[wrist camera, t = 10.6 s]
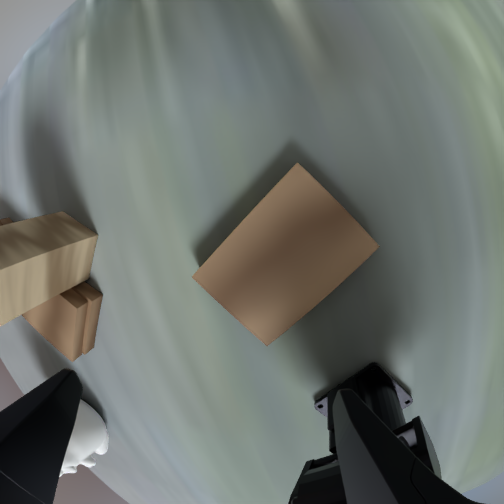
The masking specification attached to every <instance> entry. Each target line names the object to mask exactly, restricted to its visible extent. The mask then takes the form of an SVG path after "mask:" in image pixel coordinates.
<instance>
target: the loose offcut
mask: <svg viewBox="0 0 504 504" xmlns="http://www.w3.org/2000/svg"><path fill="white" fill-rule="evenodd" d="M379 247H380V246H379V245H378V244H377V243H376V242H375V241H374V240H373V239H372V237H371V236H370V235H369V234H368V233H367V232H366V231H365V230H364V229H363V228H362V227H361V225H360V224H359V223H358V222H357V221H356V220H355V219H354V218H353V217H352V216H351V215H350V214H349V213H348V212H347V211H346V210H345V209H344V208H343V206H342V205H341V204H340V203H339V202H338V201H337V200H336V199H335V198H334V197H333V196H332V195H331V194H330V193H329V192H328V191H327V190H326V189H325V188H324V187H323V186H322V185H321V184H320V183H319V182H317V181H316V180H315V179H314V178H313V177H312V176H311V175H310V174H309V173H308V172H307V171H306V170H305V169H304V168H303V167H302V166H301V165H300V164H299V163H296V164H295V165H294V166H293V168H292V169H291V170H290V171H289V172H288V173H287V174H286V175H285V176H284V177H283V178H282V179H281V180H280V181H279V182H278V183H277V184H276V185H275V186H274V188H273V189H272V190H271V191H270V192H269V193H268V194H267V195H266V196H265V197H264V198H263V199H262V200H261V201H260V202H259V204H258V205H257V206H256V207H255V208H254V209H253V210H252V211H251V212H250V213H249V214H248V215H247V216H246V218H245V219H244V220H243V221H242V222H241V223H240V224H239V225H238V226H237V227H236V228H235V229H234V231H233V232H232V233H231V234H230V235H229V236H228V237H227V238H226V239H225V240H224V242H223V243H222V244H221V245H220V246H219V247H218V248H217V249H216V250H215V251H214V253H213V254H212V255H211V256H210V257H209V258H208V259H207V260H206V261H205V263H204V264H203V265H202V266H201V267H200V268H199V269H198V270H197V272H196V273H195V274H194V275H193V276H192V278H193V279H194V280H195V281H196V282H197V283H198V284H199V285H201V286H202V287H203V288H204V289H205V290H206V291H207V292H208V293H209V294H210V295H211V296H212V297H213V298H214V299H215V300H216V301H217V302H218V303H220V304H221V305H222V306H223V307H224V308H225V309H226V310H227V311H228V312H229V313H230V314H231V315H233V316H234V317H235V318H236V319H237V320H238V321H239V322H240V323H241V324H242V325H244V326H245V327H246V328H247V329H248V330H249V331H250V332H251V333H253V334H254V335H255V336H256V337H257V338H258V339H259V340H260V341H262V342H263V343H264V344H265V345H266V346H268V345H269V344H270V343H272V342H273V341H274V340H275V339H277V338H278V337H279V336H280V335H282V334H283V333H284V332H285V331H286V330H288V329H289V328H290V327H291V326H293V325H294V324H295V323H296V322H297V321H299V320H300V319H301V318H302V317H303V316H304V315H306V314H307V313H308V312H309V311H310V310H311V309H313V308H314V307H315V306H316V305H317V304H318V303H319V302H321V301H322V300H323V299H324V298H325V297H326V296H327V295H329V294H330V293H331V292H332V291H333V290H334V289H335V288H336V287H337V286H339V285H340V284H341V283H342V282H343V281H344V280H345V279H346V278H347V277H348V276H349V275H351V274H352V273H353V272H354V271H355V270H356V269H357V268H358V267H359V266H360V265H361V264H362V263H363V262H364V261H365V260H366V259H367V258H368V257H369V256H371V255H372V254H373V253H374V252H375V251H376V250H377V249H378V248H379Z"/></svg>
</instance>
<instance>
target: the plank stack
mask: <svg viewBox="0 0 504 504" xmlns="http://www.w3.org/2000/svg"><path fill="white" fill-rule="evenodd" d="M10 223H14V222H13V221H12V220H11V219H10V218H5V219H1V220H0V226H2V225H6V224H10ZM102 297H103V295H102V294H101V293H100V292H98V291H97V290H96V289H94V288H93V287H91V286H90V285H89V284H87V283H86V282H85V281H83V282H81V283H79V284H78V285H76V286H74V287H72V288H70V289H68V290H66V291H64V292H62V293H60V294H58V295H56V296H55V297H53V298H51V299H49V300H47V301H45V302H43V303H42V304H40V305H38V306H36V307H34V308H32V309H31V310H29V311H27V312H25V313H23V314H22V316H23V317H24V318H25V319H26V320H27V321H28V322H29V323H30V324H31V325H32V326H33V327H34V328H35V329H36V330H37V331H38V332H39V333H40V334H41V335H42V336H43V337H44V338H45V339H46V340H48V341H49V342H50V343H51V344H52V345H53V346H54V347H55V348H56V349H58V350H59V351H60V352H61V353H62V354H63V355H65V356H66V357H67V358H68V359H69V360H70V361H72V362H73V361H74V360H76V359H77V358H78V357H79V356H81V355H82V353H83V354H86V353H88V352H89V351H90V350H91V349H92V348H94V343H95V336H96V330H97V324H98V318H99V312H100V307H101V302H102Z"/></svg>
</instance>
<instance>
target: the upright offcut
mask: <svg viewBox="0 0 504 504" xmlns="http://www.w3.org/2000/svg"><path fill="white" fill-rule="evenodd" d="M97 238H98V235H97V234H96V233H94V232H93V231H91V230H90V229H88V228H87V227H85V226H84V225H82V224H81V223H79V222H78V221H76V220H75V219H73V218H72V217H70V216H69V215H68V214H66V213H65V212H63V211H62V212H57V213H53V214H48V215H44V216H39V217H35V218H30V219H26V220H22V221H18V222H14V223H10V224H6V225H2V226H0V326H2V325H4V324H6V323H7V322H9V321H11V320H13V319H14V318H16V317H18V316H20V315H22V314H23V313H25V312H27V311H29V310H31V309H32V308H34V307H36V306H38V305H40V304H42V303H43V302H45V301H47V300H49V299H51V298H53V297H55V296H56V295H58V294H60V293H62V292H64V291H66V290H68V289H70V288H72V287H74V286H76V285H78V284H79V283H81V282H83V281H85V280H87V279H89V275H90V270H91V265H92V260H93V256H94V251H95V247H96V242H97Z"/></svg>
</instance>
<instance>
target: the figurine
mask: <svg viewBox="0 0 504 504" xmlns="http://www.w3.org/2000/svg"><path fill="white" fill-rule="evenodd" d="M108 440H109V436H108V432H107V430H106V425H105V423H104V421H103V419H102V418H101V416H100V415H99V414H98V413H97V412H96V411H95V410H94V409H93V408H92V407H91V406H90V405H88V404H87V403H86V402H84V401H83V400H81V399H80V403H79V408H78V412H77V417H76V421H75V425H74V428H73V431H72V434H71V438H70V441H69V444H68V447H67V451H66V454H65V457H64V461H63V464H62V468H61V472H60V476H62V474H63V473H75V472H76V471H77V469H76V466H77V465H78V464H83V465H85V466H86V467H92V466H94V465H96V460H95V459H94V458H93V457H92V456H91V455H92V454H93V453H94V452H96V453H97V454H100V455H101V454H104V453H106V452H107V450H108ZM60 476H59V477H60Z"/></svg>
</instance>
